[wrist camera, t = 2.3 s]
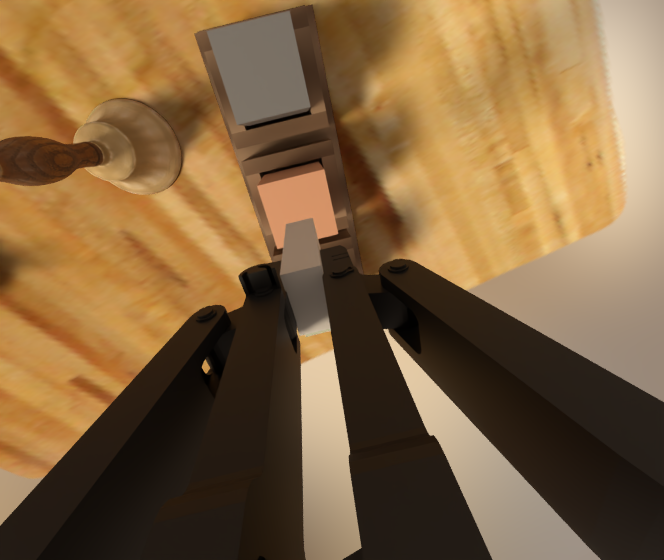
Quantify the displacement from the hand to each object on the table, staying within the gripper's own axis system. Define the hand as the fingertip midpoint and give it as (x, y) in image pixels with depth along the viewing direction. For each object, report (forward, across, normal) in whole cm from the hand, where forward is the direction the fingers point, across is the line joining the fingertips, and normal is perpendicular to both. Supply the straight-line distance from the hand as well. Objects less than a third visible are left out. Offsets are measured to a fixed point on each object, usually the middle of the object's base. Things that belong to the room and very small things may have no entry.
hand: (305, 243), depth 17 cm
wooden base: (+17, 0, 0) cm, 17 cm away
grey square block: (+13, 0, +9) cm, 16 cm away
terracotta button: (+13, 0, 0) cm, 13 cm away
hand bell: (+17, -14, +7) cm, 23 cm away
